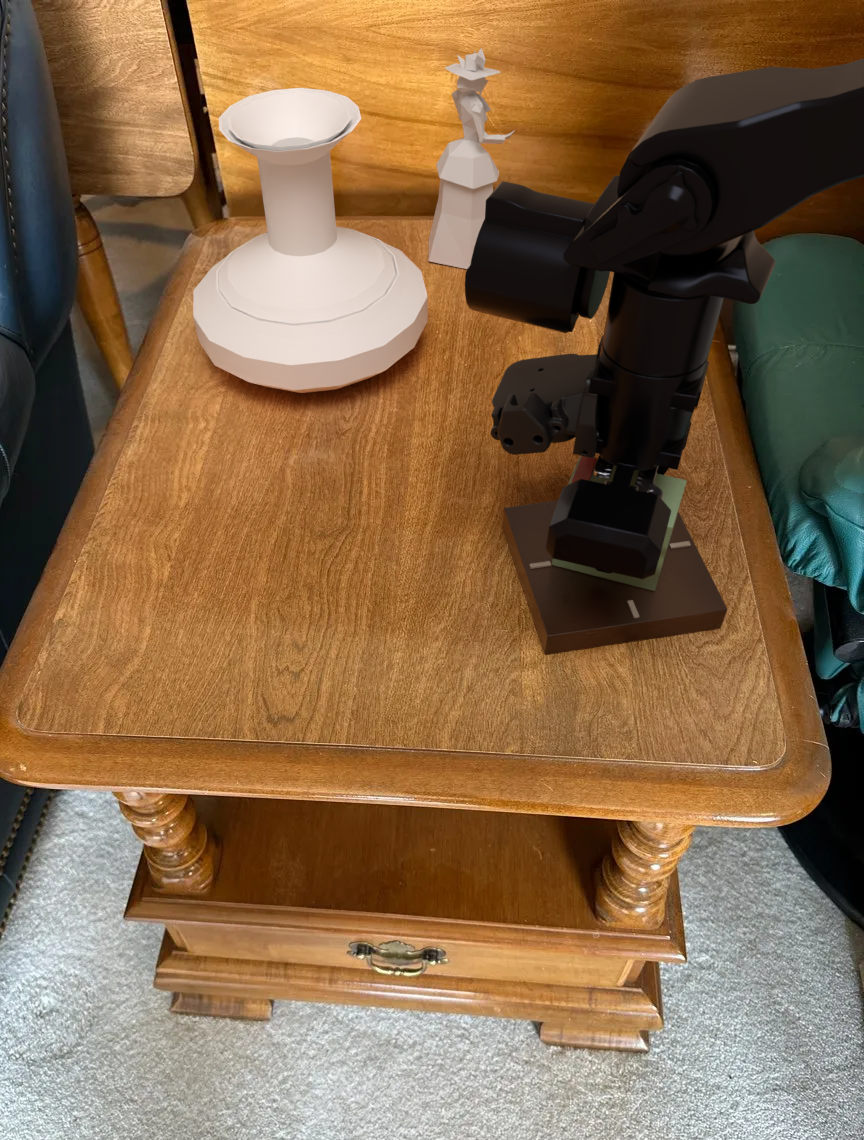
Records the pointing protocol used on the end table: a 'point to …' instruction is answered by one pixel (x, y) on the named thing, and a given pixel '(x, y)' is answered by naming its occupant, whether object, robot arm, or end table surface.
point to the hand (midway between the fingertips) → (611, 544)
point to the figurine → (464, 170)
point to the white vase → (305, 262)
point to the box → (669, 486)
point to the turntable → (608, 590)
